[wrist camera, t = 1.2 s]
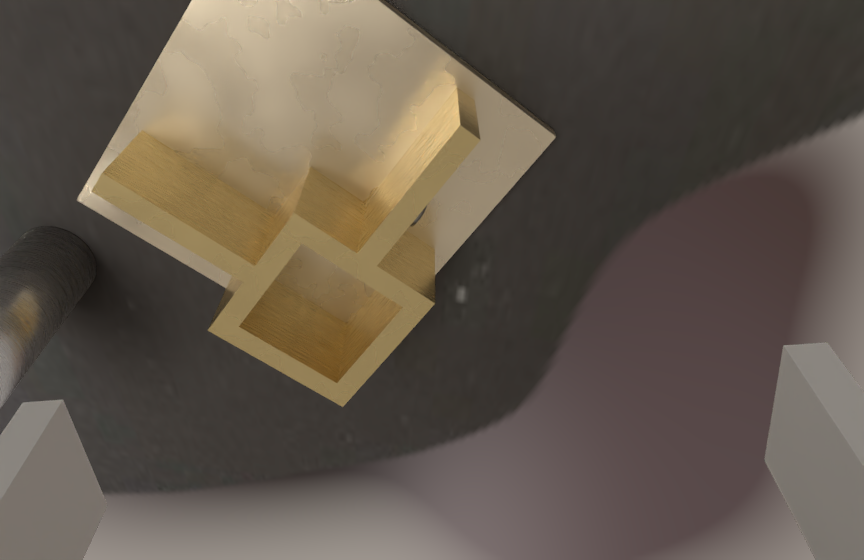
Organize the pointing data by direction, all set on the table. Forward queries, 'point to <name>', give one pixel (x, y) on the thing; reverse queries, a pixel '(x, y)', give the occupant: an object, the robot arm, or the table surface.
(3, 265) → the pin
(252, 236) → the open box on plate
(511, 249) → the table surface
